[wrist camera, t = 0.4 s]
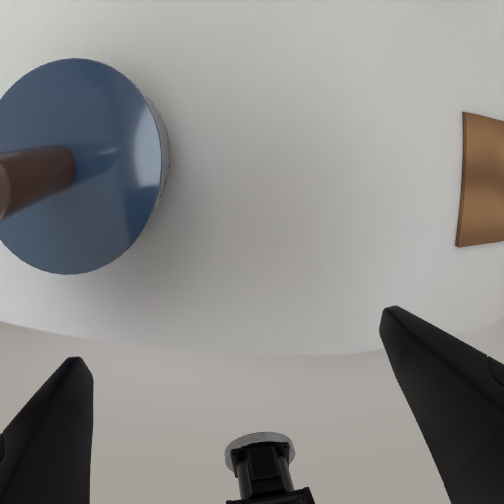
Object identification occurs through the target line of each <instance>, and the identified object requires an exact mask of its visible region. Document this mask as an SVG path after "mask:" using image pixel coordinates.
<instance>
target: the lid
mask: <svg viewBox="0 0 504 504" xmlns="http://www.w3.org/2000/svg"><path fill="white" fill-rule="evenodd" d="M163 166H164V164H163V146H162V139H161V134H160V130H159V127H158V123H157V120H156V118H155V115H154V113H153V111H152V108H151V106H150V105H149V103H148V102H147V100H146V98H145V97H144V95H143V94H142V93H141V91H140V90H139V89H138V88H137V87H136V85H135V84H134V83H133V82H131V81H130V80H129V79H128V78H127V77H126V76H125V75H123V74H122V73H120V72H119V71H117V70H115V69H114V68H112V67H110V66H108V65H105V64H103V63H101V62H97V61H93V60H89V59H78V58H71V59H61V60H57V61H53V62H50V63H47V64H45V65H42V66H40V67H37V68H36V69H34V70H32V71H31V72H29V73H27V74H26V75H24V76H23V77H22V78H21V79H19V80H18V81H17V82H16V83H15V84H14V85H13V86H12V87H11V88H10V89H9V90H8V91H7V92H6V93H5V94H4V96H3V97H2V98H1V100H0V240H1V241H2V242H3V243H4V245H5V246H6V247H7V248H8V249H9V250H10V251H11V252H12V253H13V254H15V255H16V256H17V257H18V258H20V259H21V260H23V261H24V262H26V263H28V264H29V265H31V266H33V267H35V268H38V269H40V270H43V271H46V272H50V273H55V274H63V275H68V274H81V273H86V272H90V271H93V270H96V269H99V268H101V267H103V266H105V265H107V264H109V263H111V262H112V261H114V260H115V259H116V258H118V257H119V256H121V255H122V254H123V253H124V252H125V251H126V250H127V249H128V248H129V247H130V246H131V245H132V244H133V243H134V242H135V240H136V239H137V238H138V237H139V235H140V234H141V232H142V231H143V229H144V228H145V226H146V225H147V223H148V221H149V219H150V217H151V215H152V213H153V211H154V208H155V206H156V203H157V200H158V197H159V193H160V188H161V184H162V176H163Z"/></svg>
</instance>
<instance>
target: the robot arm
mask: <svg viewBox="0 0 504 504" xmlns="http://www.w3.org/2000/svg"><path fill="white" fill-rule="evenodd" d="M379 333H380V337H381V339H382V342H383V345H384V347H385V350H386V353H387V355H388V358H389V361H390V363H391V366H392V369H393V371H394V374H395V377H396V379H397V381H398V383H399V385H400V387H401V389H402V391H403V393H404V395H405V398H406V400H407V402H408V404H409V406H410V408H411V410H412V412H413V414H414V417H415V419H416V421H417V423H418V425H419V427H420V430H421V432H422V434H423V436H424V439H425V441H426V443H427V445H428V447H429V450H430V452H431V454H432V457H433V459H434V462H435V464H436V466H437V468H438V471H439V473H440V476H441V478H442V481H443V482H444V486H445V488H446V491H447V493H448V496H449V499H450V501H451V504H504V364H502V363H500V362H498V361H497V360H495V359H493V358H491V357H490V356H488V357H487V355H486V354H484V353H482V352H480V351H479V350H477V349H475V348H473V347H472V346H470V345H468V344H466V343H464V342H463V341H460V340H459V339H457V338H455V337H453V336H452V335H450V334H448V333H446V332H445V331H443V330H441V329H439V328H437V327H436V326H434V325H432V324H430V323H428V322H426V321H425V320H423V319H421V318H419V317H417V316H415V315H414V314H412V313H410V312H408V311H406V310H404V309H403V308H401V307H399V306H391V307H387V308H385V309H384V310H383V312H382V317H381V322H380V327H379ZM92 433H93V376H92V374H91V372H90V370H89V369H88V367H87V366H86V364H85V362H84V361H83V359H82V358H81V357H69V358H67V359H66V360H65V361H64V362H63V363H62V364H61V365H60V367H59V368H58V369H57V370H56V371H55V372H54V373H53V374H52V375H51V377H50V378H49V379H48V380H47V381H46V382H45V383H44V384H43V385H42V386H41V388H40V389H39V390H38V391H37V392H36V393H35V394H34V396H33V397H32V398H31V399H30V400H29V401H28V402H27V404H26V405H25V406H24V407H23V408H22V409H21V411H20V412H19V413H18V414H17V415H16V416H15V418H14V419H13V420H12V421H11V422H10V424H9V425H8V426H7V427H6V428H5V430H4V431H3V433H2V434H0V504H90V503H89V502H90V464H91V447H92ZM289 454H290V445H289V442H281V443H275V444H268V445H261V446H254V447H246V448H237V449H232V450H230V455H231V460H232V464H233V469H234V473H235V477H236V478H238V482H239V488H240V496H241V500H234V501H231V500H228V501H226V504H315V502H314V500H313V497H312V494H311V492H310V489H309V487H305V488H303V489H299V490H295V491H294V487H293V483H292V480H291V476H290V472H289Z"/></svg>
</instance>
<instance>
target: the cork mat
mask: <svg viewBox="0 0 504 504" xmlns="http://www.w3.org/2000/svg"><path fill="white" fill-rule="evenodd" d="M500 241H504V121H500V120H496V119H492V118H488V117H484V116H480V115H476V114H472V113H467V112H463V174H462V190H461V203H460V213H459V222H458V230H457V238H456V245H455V246H457V247H465V246H472V245H479V244H486V243H493V242H500Z"/></svg>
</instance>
